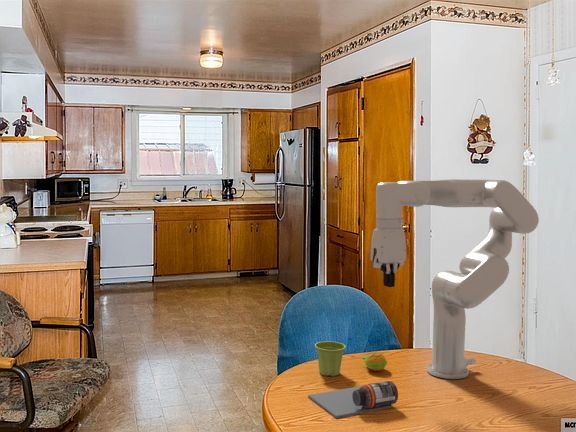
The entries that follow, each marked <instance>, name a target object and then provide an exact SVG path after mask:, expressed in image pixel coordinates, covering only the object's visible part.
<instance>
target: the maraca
mask: <svg viewBox="0 0 576 432" xmlns="http://www.w3.org/2000/svg"><path fill="white" fill-rule="evenodd" d="M362 360H364V361H363V362H364V364H365V365H366V366H367V368H368V369H369V370H371V371H374V372H378V371H379V372H380V371H382V370H384V369H385V368H386V365H387V364H388V360H387V359H386V357H385V356H384V355H383V354H381V352H371V353H369V354H368V355H367V354H366V355H365V356H362Z"/></svg>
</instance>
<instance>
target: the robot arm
mask: <svg viewBox="0 0 576 432" xmlns="http://www.w3.org/2000/svg"><path fill="white" fill-rule="evenodd" d="M375 188H376V189H375V214H376V215H375V228H374V229H373V231H372V235H371V236H372V237H371V242H370V243H371V244H370V261H371V262H372V263H373V265H372V267H373V268H375V269H379V270H380V271H381V273H383V275H382V278H383V280H382V281H383V282H382V283H383V286H384V287H386V288H387V287H388V288H394V287H395V282H396V277H395V276H396V273H398V269H399V268H400V267H402V266H404V265H405V264H406V263H405V262H406V258H407V243H406V241H407V240H406V235H405V230H404V228H403V225H404V224H405V219H403V207H404V206H406V207H412V208H413V207H417V208H418V207H422V206H423V207H424V206H435V207H443V208H493V209H492V210H491V212H490V214H489V220H488V221H489V228H488V229H489V230H488V234H487V235H486V237H485V238H484V239H483V240H482V241H481V242H479V243H478V244H477V245H476V246H475V247H474V248H472V249H471V250H470V251H469V252H467V254H466V255H463V257H462V259H461V260H460V262H459V265H458V266H459V271H460V272H457V271H454V270H443V271H440V272H438V273H437V274H436V275H435V276H434V277H433V279H432V282H431V294H432V295H431V297H432V304H433V322H432V323H433V324H432V325H433V327H432V328H433V329H432V352H431V353H432V355H431V363H430V364H428V365H426V372H427V373H428V374H430V375H431V376H434V377H437V378H441V379H447V380H462V379H465V378H467V377H469V375H470V370H469V369H468V368H467V367H468V366H469V365H474V364H476V359H475V358H474V357H469V358H467V357H466V356H465V344H466V343H465V342H466V341H465V339H466V338H465V337H466V324H467V323H466V309H474V308H476V307H478V306H479V305H481V304H482V303H484V301H486V300H487V299H488V298H489V297H490V296H491V295H492V294H494V293H495V292H496V291H497V290H498V289H499V288H500V287H502V285H504V283H505V282H506V280H507V278H508V276H509V273H510V266H509V263H508V261H507V260H506V258H507V257H508V256H509V255H510V253H511V251H512V246H513V245H512V244H513V233H516V234H520V235H521V234H522V235H523V234H525V235H526V234H530V233H533V232H534V231H535V230H536V229H537V227H538V225H539V215H538V212H537V210H536V209H535V207H534V206H533V205H532V203H530V202H529V201H528V199H527V198H526V197H525V196H524V194H522V192H521V191H520V190H519V189H518V188H517V187H516V186H515V185H514V184H512V183H511V182H509V181H508V180H505V179H458V178H457V179H453V178H451V179H438V180H399V181H396V182H394V181H385V182H378V183H377V185H376V187H375Z"/></svg>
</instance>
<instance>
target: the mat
mask: <svg viewBox="0 0 576 432" xmlns="http://www.w3.org/2000/svg"><path fill="white" fill-rule="evenodd" d="M361 386H362V385H359V386H354V387H349V388H342V389H335V390H331V391H330V390H329V391H324V392H318V393H313V394H307V395H308V396H307V397H308V399H309V400H311V401H312V402H314V403H315V404H316V403H317V406H319V407H320V408H322V409H323V410H324V409H325V410H324V411H326V412H327V413H328V414H330V415H331V416H332V417H333V418H335V419H340V418H344V417H350V416H355V415H356V416H357V415H360V414H364V413H369V412H375V411H380V410H386V409H390V408H393V404H391V405H385V406H379V407H374V408H364V407H363V406H356V405H355V404H354V402H353V398H352V394H353V391H354V390H358V389H359V388H360V387H361Z"/></svg>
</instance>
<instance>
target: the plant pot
mask: <svg viewBox="0 0 576 432" xmlns="http://www.w3.org/2000/svg"><path fill="white" fill-rule="evenodd" d="M346 346H347V345H346V344H345V343H341V342H338V341H330V340H329V341H328V340H327V341H326V340H325V341H324V340H323V341H319V342H316V343H315V344H314V347H315V350H316V354H317V362H318V370H319V371H318V372H319V374H320V375H322V376H325V377H328V376H331V377H335V376H338V375H340V370H341V367H342V360H343V356H344V352H345V350H346V348H347V347H346Z"/></svg>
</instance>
